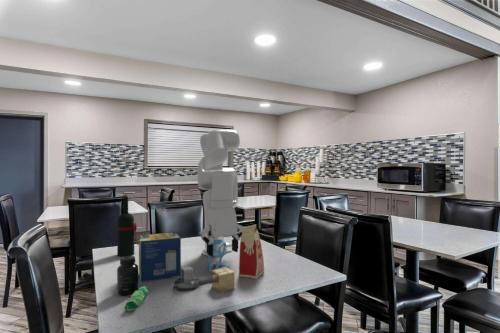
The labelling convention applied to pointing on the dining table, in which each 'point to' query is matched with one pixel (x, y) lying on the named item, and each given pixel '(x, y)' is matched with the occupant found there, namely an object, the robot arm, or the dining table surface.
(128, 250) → the wine bottle
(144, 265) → the protein box
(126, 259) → the supplement bottle
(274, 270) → the dining table surface
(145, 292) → the candy
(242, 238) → the milk carton
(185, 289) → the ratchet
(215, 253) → the chair
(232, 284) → the brown parcel carton
